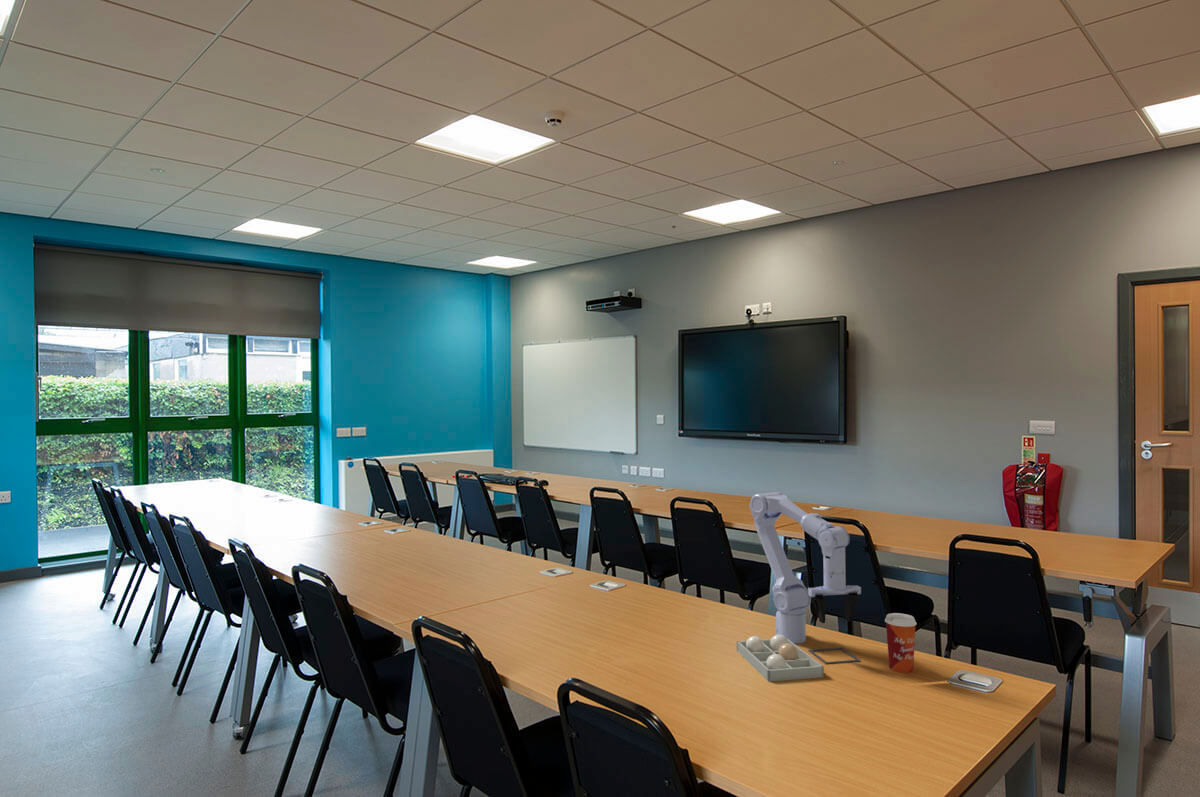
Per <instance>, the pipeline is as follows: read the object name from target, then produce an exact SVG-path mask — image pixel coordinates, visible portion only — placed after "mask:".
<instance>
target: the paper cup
mask: <svg viewBox="0 0 1200 797" xmlns="http://www.w3.org/2000/svg"><path fill="white" fill-rule="evenodd" d="M884 622H885V628H886V638H887V640H886V641H887V642H886V643H887V652H888V665H889V669H890V670H892V671H894V672H897V673H904V674H907V673H913V671H914V666H915V664H914V662H915V660H914V659H915V642H916V641H915V640H916V639H915V638H916V626H917V625H918V624H917V622H916V619H915V617H914V616H913V615H910V614H905V613H901V612H900V613H899V612H898V613H897V612H893V613H888V614H886V617H885V619H884Z"/></svg>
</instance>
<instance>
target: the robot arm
mask: <svg viewBox="0 0 1200 797" xmlns="http://www.w3.org/2000/svg"><path fill="white" fill-rule="evenodd" d="M748 507H749V509H750V513H751V515H752V518H753V522H754V528H755V530H756V532H757V535H758V538H759V541H760V542H761V545H762V549H763V551H764V553H765V556H766V558H767V561H768V564H769V566H770V569H771V572H772V574H773V576H774V580H775V583H774V585H773V586H772V588H771V591H772V594H773V603H774V606H775V608H776V609H777V611H776V614H775V635H777V634H780V635H783V636H785V637H786V638H787V639H789V640H790V641H791V642H793V643H794V644H803V643H805V642H806V641H807V638H806V636H807V633H806V632H807V631H806V612H807V611H808V608H809V606H810V605H811V603H813V605H814V607H815V611H816V612H817V616H818V622H820V623H822V624H826V607H827V603H828V602H827V601H828V600H827V599H826V598H825V596H839V595H842V599H843V604H844V605H843V606H844V620H846V621H847V622H852V618H853V614H854V611H855V608H856V606H857V605H858V603H859V601H860V596H859V595H862V587H861V586H859V585H846V582H847V581H846V579H847V578H846V547H847V546H848V545H849V544H850V534H849V532H848V530H846V528H844V527H843V526H841V525H838V526H835V525H833V523H832V522H830V521H829V522H828V521H827V520H825V519H823V518H822V517H821V515H820V514H819V513H817V512H816V513H814V512H813V513H812V512H810V513H807V512H806V511H804V510H803V509H802V508H800V507H799V506H798V505H797V504H795V503H794V502H792V501H791V500H790V499H789V497H788V496H787V495H785V494H783V492H781V491H773V492H765V493H756V494H753V495H752V497H751V500H750V502H749V504H748ZM781 515H785V516H787V517H788V518H790V519H792V520H793V521H795V522H797V523H799V524H800V526H801V529H802V531H804V533H805V532H806V533H807V534H808V535H810V536H811V537H813V538H814V539H816V540H817V541H818V544H819V546H820V548H821V553H822V556H823V558H822V559H823V585H821V586H815V587H808V588H807V587H806V586H805V585H804V582H803V580H801V579H800V578H798V577H797V576H795V575H794V572H793V570H792V568H791V565H790V562H789V560H788V557H787V555H786V551H785V550H784V547H783V545H782V542H781V540H780V537H779V535H778V532H777V530H776V527H775V525H776V522H777V521H778V520H779V519H780V517H781Z"/></svg>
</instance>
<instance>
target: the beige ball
mask: <svg viewBox="0 0 1200 797" xmlns="http://www.w3.org/2000/svg"><path fill="white" fill-rule="evenodd" d="M778 653H779V655H781V656H782V657H783V658H784V659H785V661H787V660H796V659H797V657H798V651H797V649H796V647H795V646H794V645H792V644H790V643H785V644H783V645H781V646H780V648H779V652H778Z"/></svg>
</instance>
